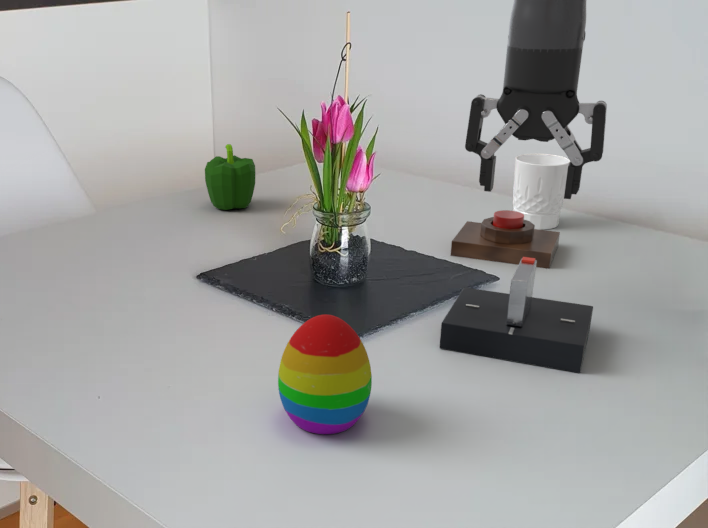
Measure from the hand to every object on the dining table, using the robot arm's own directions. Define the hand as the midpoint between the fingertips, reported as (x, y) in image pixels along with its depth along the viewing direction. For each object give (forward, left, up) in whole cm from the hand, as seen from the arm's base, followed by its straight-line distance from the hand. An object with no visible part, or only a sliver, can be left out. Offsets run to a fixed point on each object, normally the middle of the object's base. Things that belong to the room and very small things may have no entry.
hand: (527, 193), depth 93 cm
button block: (+4, -19, -14) cm, 24 cm away
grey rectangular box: (-2, +10, -11) cm, 14 cm away
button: (+4, -20, -10) cm, 22 cm away
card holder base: (-2, +10, -14) cm, 17 cm away
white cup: (+2, -34, -14) cm, 37 cm away
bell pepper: (+49, -24, -14) cm, 57 cm away
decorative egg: (+11, +34, -14) cm, 38 cm away
